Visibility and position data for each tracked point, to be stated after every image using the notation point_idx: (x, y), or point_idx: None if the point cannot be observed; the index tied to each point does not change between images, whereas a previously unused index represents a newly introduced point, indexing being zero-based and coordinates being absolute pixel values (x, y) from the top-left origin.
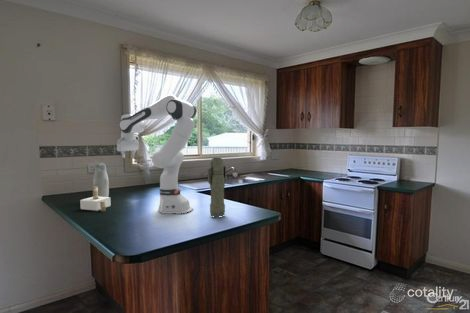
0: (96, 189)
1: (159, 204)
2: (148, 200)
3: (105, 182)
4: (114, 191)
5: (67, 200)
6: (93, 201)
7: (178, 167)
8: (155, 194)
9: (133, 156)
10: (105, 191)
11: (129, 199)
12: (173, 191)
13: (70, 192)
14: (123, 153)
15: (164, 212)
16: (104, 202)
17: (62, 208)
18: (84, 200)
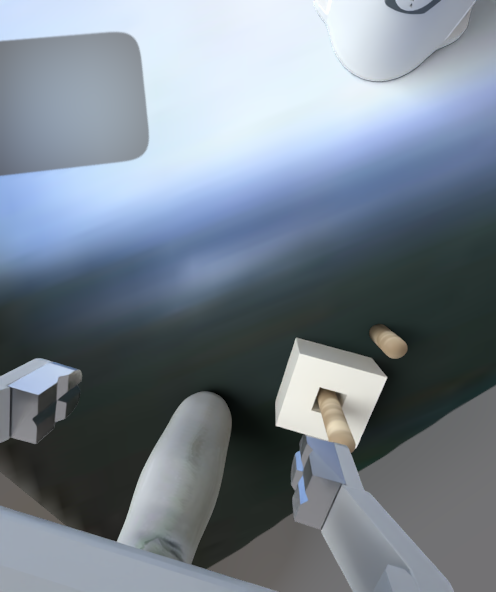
0: (347, 427)
1: (414, 48)
2: (191, 209)
3: (197, 446)
4: None
5: (214, 512)
6: (380, 390)
7: None
8: (63, 221)
9: (60, 364)
10: (210, 413)
11: (179, 305)
12: None
13: None
14: (421, 558)
15: (469, 11)
16: (400, 338)
17: None
18: (363, 430)
